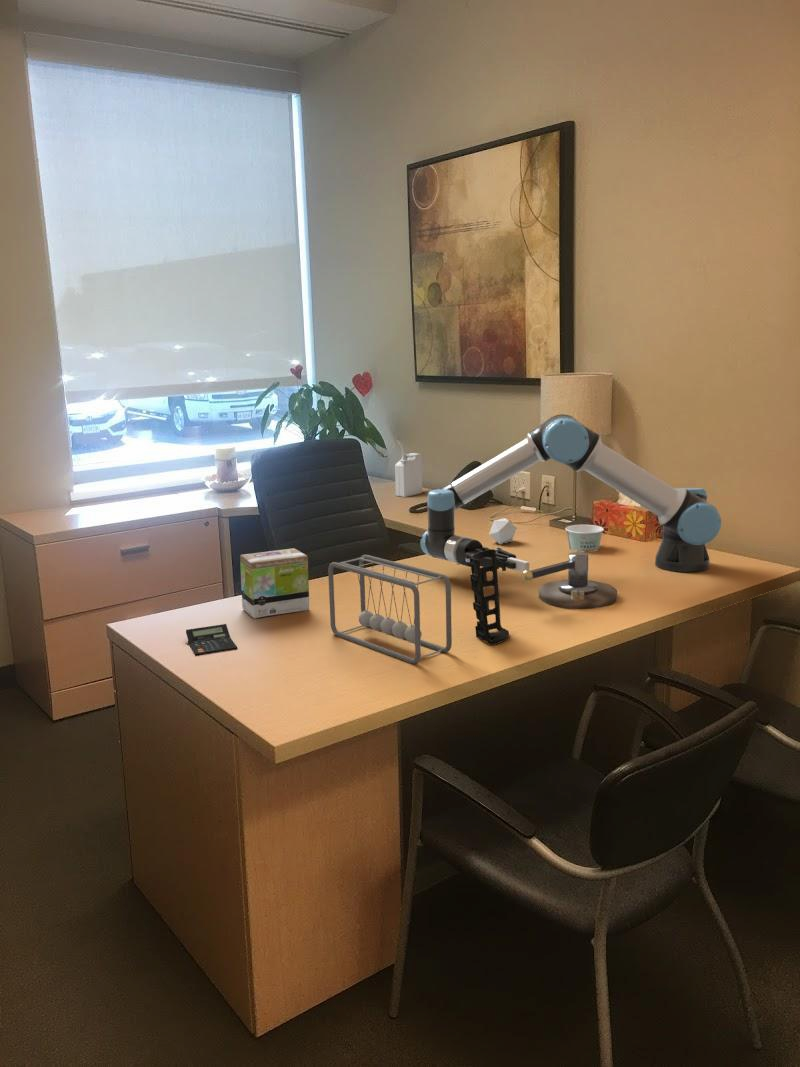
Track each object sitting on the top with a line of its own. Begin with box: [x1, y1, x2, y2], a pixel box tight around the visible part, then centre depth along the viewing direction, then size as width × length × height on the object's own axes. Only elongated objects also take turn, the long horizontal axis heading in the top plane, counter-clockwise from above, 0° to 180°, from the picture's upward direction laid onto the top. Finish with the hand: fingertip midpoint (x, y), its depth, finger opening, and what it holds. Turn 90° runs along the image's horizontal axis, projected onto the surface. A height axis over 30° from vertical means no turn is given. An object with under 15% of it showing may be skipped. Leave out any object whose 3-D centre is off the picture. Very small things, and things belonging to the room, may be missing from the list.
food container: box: [564, 524, 605, 552], centre depth 280 cm, size 12×12×6 cm
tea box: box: [239, 547, 310, 619], centre depth 224 cm, size 15×10×15 cm
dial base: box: [538, 579, 618, 610], centre depth 229 cm, size 20×20×4 cm
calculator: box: [185, 623, 238, 656], centre depth 201 cm, size 9×12×3 cm
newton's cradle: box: [327, 554, 453, 665], centre depth 197 cm, size 30×10×18 cm, turn 42°
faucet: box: [521, 551, 598, 594], centre depth 223 cm, size 25×10×9 cm, turn 128°
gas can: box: [394, 439, 423, 498], centre depth 377 cm, size 15×5×25 cm, turn 141°
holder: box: [469, 548, 510, 646], centre depth 199 cm, size 11×8×20 cm
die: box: [488, 517, 517, 545], centre depth 290 cm, size 8×9×10 cm
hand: (527, 567), depth 224 cm, fingers closed
